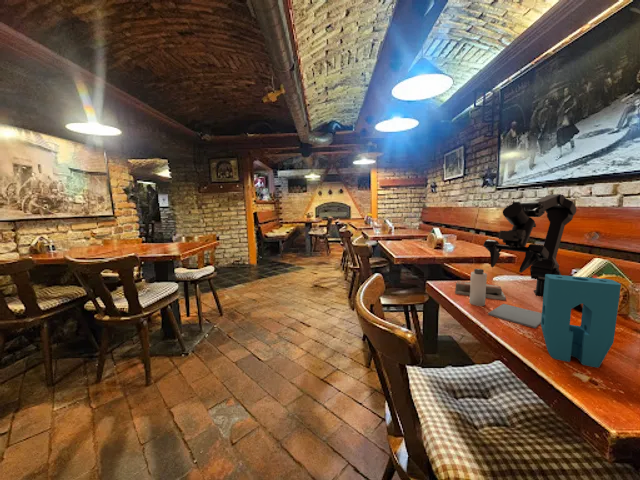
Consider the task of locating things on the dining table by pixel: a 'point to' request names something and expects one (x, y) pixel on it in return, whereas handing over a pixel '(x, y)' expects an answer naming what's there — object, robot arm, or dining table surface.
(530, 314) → the felt mat
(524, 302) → the dining table surface
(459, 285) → the packaged product
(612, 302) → the block
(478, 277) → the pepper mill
